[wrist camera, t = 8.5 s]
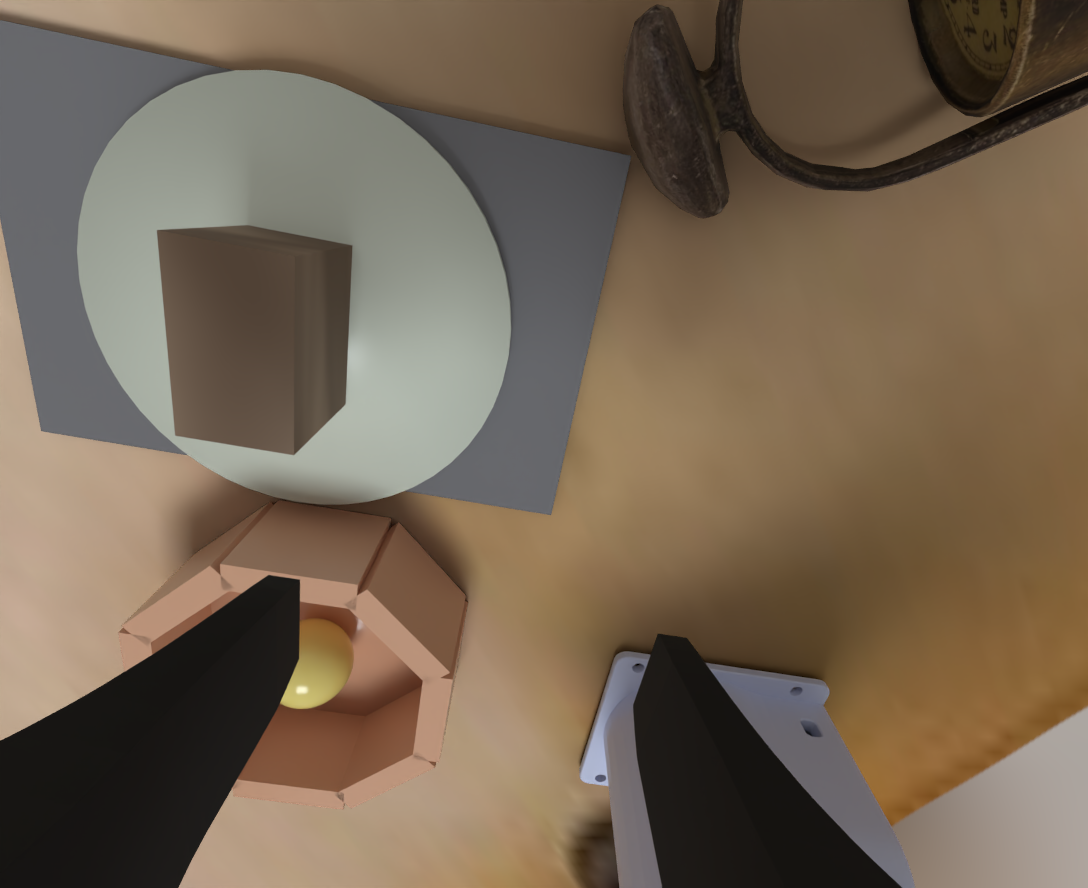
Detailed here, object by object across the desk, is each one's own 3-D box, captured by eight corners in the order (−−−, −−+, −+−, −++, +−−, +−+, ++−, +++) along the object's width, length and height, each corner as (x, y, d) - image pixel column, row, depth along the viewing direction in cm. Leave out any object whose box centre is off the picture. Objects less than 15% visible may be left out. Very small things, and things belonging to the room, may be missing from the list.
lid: (545, 129, 15) (546, 99, 11) (481, 522, 20) (464, 604, 16) (60, 25, 14) (-143, -52, 10) (119, 464, 19) (1, 535, 15)
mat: (629, 157, 16) (631, 155, 15) (550, 509, 20) (551, 514, 20) (-25, 16, 15) (-40, 11, 14) (51, 427, 19) (41, 431, 19)
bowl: (479, 532, 21) (465, 601, 17) (446, 731, 25) (429, 820, 22) (185, 485, 20) (104, 546, 16) (202, 698, 24) (142, 785, 21)
